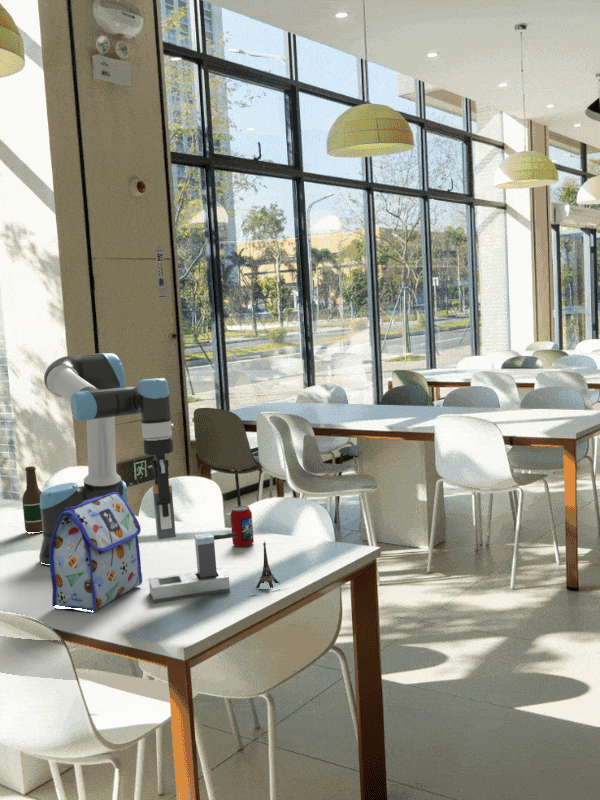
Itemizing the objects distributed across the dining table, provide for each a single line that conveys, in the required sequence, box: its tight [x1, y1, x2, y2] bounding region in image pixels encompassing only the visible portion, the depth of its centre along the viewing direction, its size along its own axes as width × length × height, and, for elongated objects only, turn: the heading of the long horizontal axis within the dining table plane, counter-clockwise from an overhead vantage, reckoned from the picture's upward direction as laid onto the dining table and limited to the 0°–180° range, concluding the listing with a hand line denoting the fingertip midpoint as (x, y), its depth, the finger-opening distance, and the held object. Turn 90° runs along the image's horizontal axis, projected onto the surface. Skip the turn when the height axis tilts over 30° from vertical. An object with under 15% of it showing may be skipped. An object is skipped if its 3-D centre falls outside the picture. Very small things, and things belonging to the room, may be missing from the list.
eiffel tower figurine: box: [255, 541, 279, 588], centre depth 219 cm, size 15×10×13 cm
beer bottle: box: [22, 466, 43, 532], centre depth 300 cm, size 8×8×24 cm
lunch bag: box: [49, 492, 143, 612], centre depth 218 cm, size 23×17×27 cm
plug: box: [152, 482, 177, 540], centre depth 216 cm, size 4×4×14 cm
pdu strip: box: [148, 532, 236, 604], centre depth 219 cm, size 9×24×15 cm, turn 106°
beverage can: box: [230, 505, 254, 548], centre depth 263 cm, size 7×7×12 cm
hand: (165, 526), depth 216 cm, fingers closed on plug, 4 cm apart
